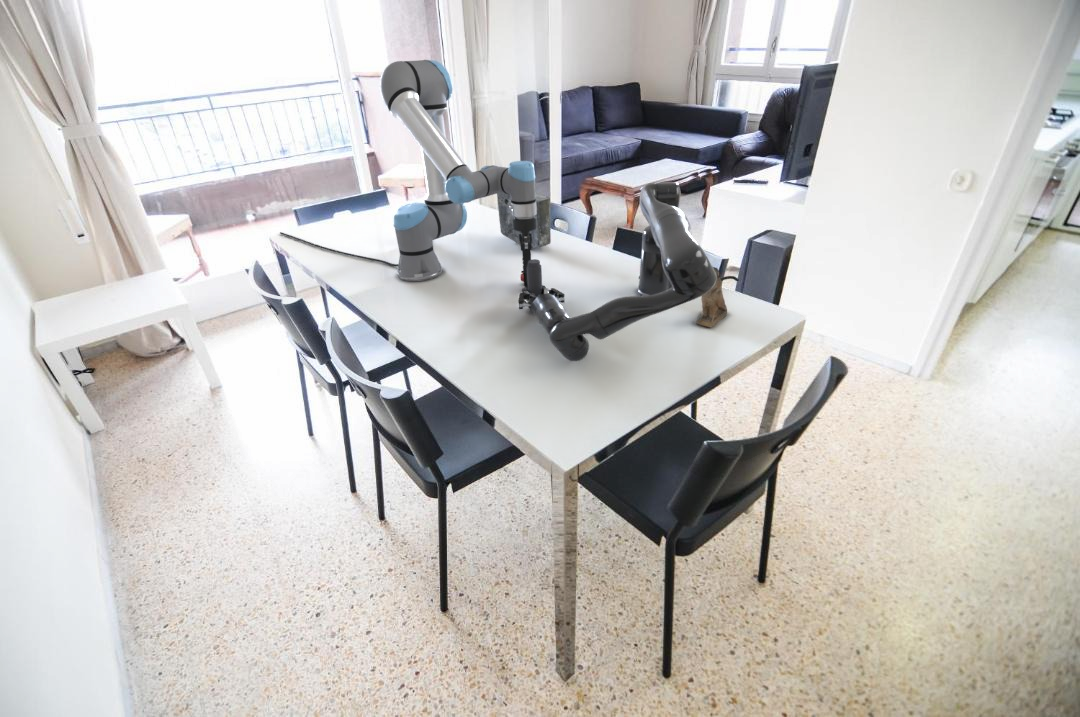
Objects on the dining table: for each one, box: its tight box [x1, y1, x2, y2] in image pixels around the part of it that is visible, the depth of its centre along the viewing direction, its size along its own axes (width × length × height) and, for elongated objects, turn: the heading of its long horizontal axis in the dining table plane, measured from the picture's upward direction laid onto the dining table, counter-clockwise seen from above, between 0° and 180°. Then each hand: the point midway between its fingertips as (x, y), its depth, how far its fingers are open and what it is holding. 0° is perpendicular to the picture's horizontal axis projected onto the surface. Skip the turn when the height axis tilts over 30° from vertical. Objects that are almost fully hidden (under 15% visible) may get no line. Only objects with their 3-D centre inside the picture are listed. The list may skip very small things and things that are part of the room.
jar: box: [527, 258, 543, 315], centre depth 144 cm, size 4×4×16 cm
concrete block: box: [496, 191, 552, 249], centre depth 194 cm, size 27×9×20 cm, turn 36°
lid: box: [519, 273, 524, 283], centre depth 161 cm, size 5×5×2 cm
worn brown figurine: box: [695, 266, 728, 328], centre depth 135 cm, size 12×6×18 cm, turn 136°
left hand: (528, 287), depth 163 cm, fingers closed on lid, 5 cm apart
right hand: (532, 288), depth 147 cm, fingers closed on jar, 4 cm apart
